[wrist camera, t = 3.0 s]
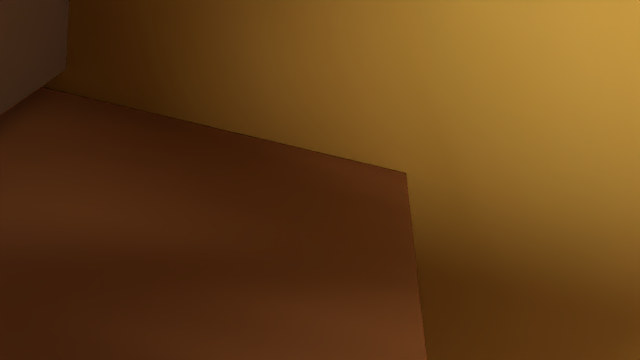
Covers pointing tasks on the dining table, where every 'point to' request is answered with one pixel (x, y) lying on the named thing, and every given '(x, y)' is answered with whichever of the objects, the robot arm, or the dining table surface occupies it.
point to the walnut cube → (195, 243)
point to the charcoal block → (30, 46)
